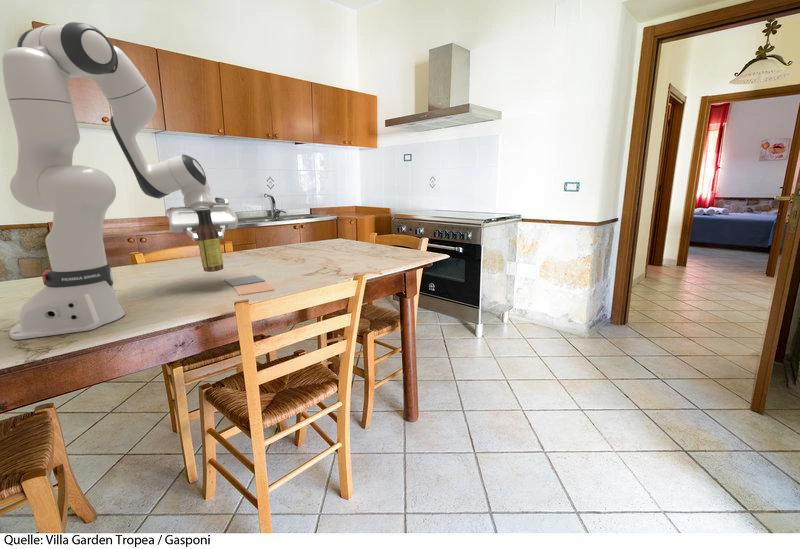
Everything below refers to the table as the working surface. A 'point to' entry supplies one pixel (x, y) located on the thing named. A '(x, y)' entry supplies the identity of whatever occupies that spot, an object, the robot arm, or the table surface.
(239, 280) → the slate tile
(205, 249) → the sauce bottle
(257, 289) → the terracotta tile
